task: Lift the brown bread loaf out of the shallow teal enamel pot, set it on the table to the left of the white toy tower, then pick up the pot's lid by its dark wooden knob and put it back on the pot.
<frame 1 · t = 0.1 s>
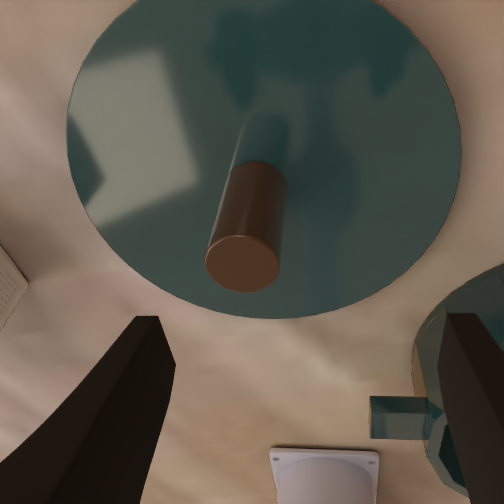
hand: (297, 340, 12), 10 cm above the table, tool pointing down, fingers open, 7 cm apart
lid: (257, 181, 20), point 1 cm above the table
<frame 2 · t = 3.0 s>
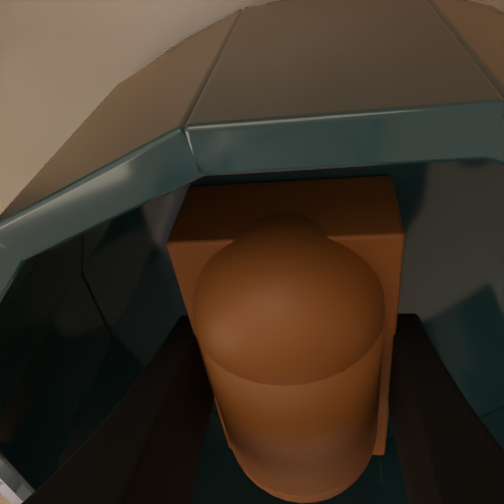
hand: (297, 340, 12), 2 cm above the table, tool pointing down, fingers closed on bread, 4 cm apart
bread: (298, 304, 13), point 1 cm above the table, touching gripper, pot
pot: (335, 291, 13), on the table
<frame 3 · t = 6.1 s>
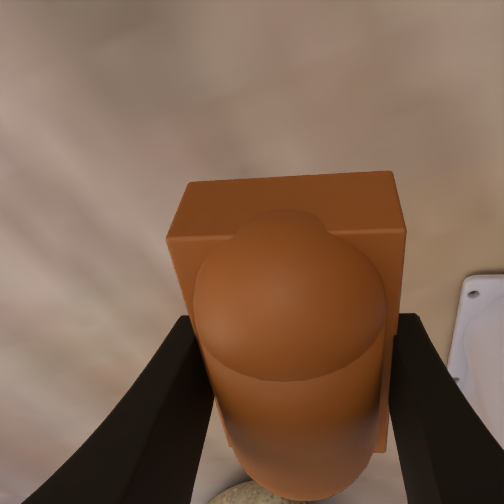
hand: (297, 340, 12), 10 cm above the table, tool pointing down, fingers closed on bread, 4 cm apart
bread: (298, 301, 13), point 9 cm above the table, touching gripper
rock: (258, 503, 43), on the table
when the fingers open (1 cm above the table, at t = 9.3 s): bread stays where it is, on the table.
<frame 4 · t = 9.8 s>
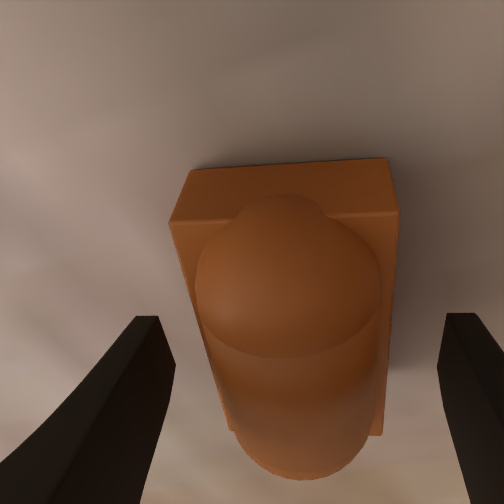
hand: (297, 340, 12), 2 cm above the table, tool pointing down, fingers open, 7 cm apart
bread: (297, 287, 13), on the table
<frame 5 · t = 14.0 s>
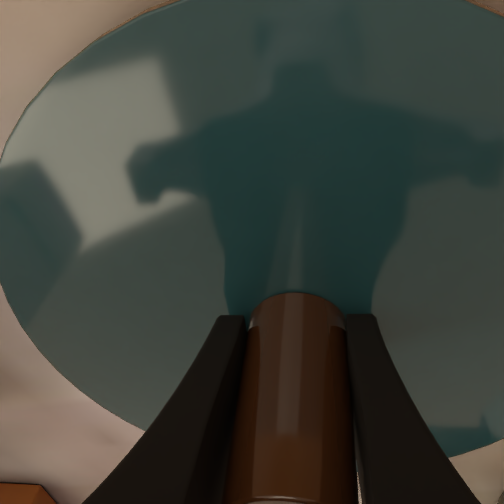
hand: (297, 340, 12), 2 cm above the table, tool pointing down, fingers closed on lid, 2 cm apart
lid: (298, 312, 13), point 1 cm above the table, touching gripper
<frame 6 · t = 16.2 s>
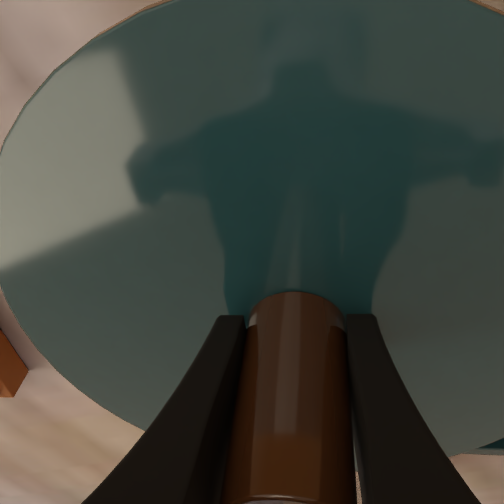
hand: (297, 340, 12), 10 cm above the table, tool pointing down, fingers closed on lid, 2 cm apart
lid: (297, 311, 13), point 9 cm above the table, touching gripper
pot: (492, 267, 23), on the table
when the fingers open (6 cm above the table, at t = 18.6 s): lid stays where it is, resting on pot.
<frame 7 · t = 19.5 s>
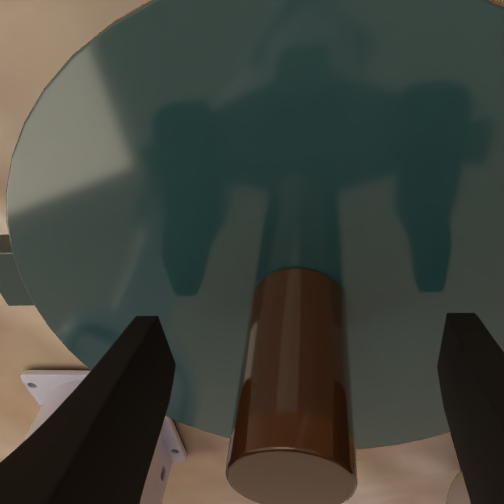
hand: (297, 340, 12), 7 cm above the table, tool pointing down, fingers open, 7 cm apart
lid: (299, 289, 13), point 5 cm above the table, touching pot
pot: (304, 188, 18), on the table
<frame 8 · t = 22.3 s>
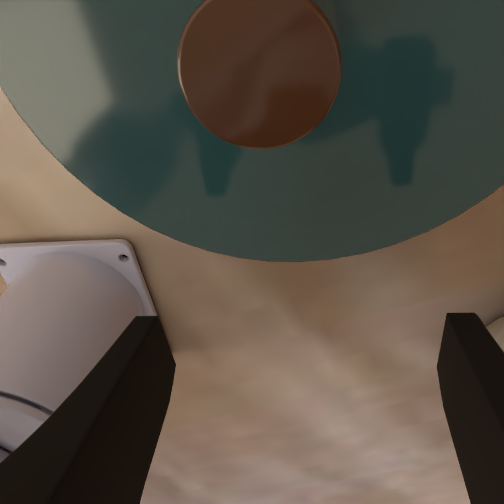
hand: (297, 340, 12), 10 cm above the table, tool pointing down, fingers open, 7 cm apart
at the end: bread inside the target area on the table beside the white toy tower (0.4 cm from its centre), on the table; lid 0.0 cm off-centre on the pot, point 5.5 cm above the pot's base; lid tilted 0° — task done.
